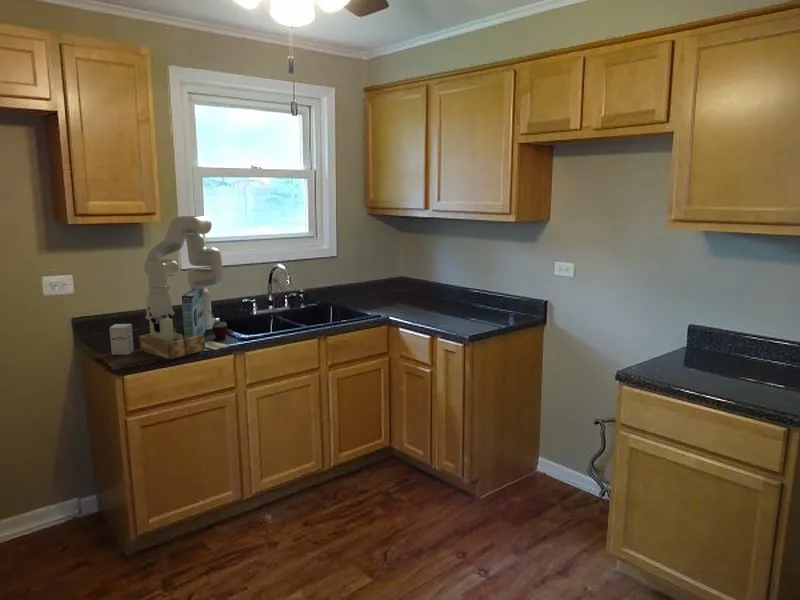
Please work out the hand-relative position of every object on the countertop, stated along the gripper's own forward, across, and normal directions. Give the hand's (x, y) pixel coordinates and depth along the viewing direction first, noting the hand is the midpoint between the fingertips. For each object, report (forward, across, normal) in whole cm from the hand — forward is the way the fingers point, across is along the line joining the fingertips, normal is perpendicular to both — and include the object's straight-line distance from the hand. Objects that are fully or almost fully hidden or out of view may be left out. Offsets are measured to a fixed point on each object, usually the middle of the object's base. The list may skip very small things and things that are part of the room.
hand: (161, 330), depth 262 cm
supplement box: (+11, +10, -15) cm, 21 cm away
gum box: (+11, -25, -11) cm, 29 cm away
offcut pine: (+7, -8, -4) cm, 12 cm away
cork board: (+10, -20, +9) cm, 24 cm away
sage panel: (+10, 0, 0) cm, 10 cm away
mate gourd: (+10, -30, 0) cm, 32 cm away
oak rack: (+10, -5, 0) cm, 11 cm away
